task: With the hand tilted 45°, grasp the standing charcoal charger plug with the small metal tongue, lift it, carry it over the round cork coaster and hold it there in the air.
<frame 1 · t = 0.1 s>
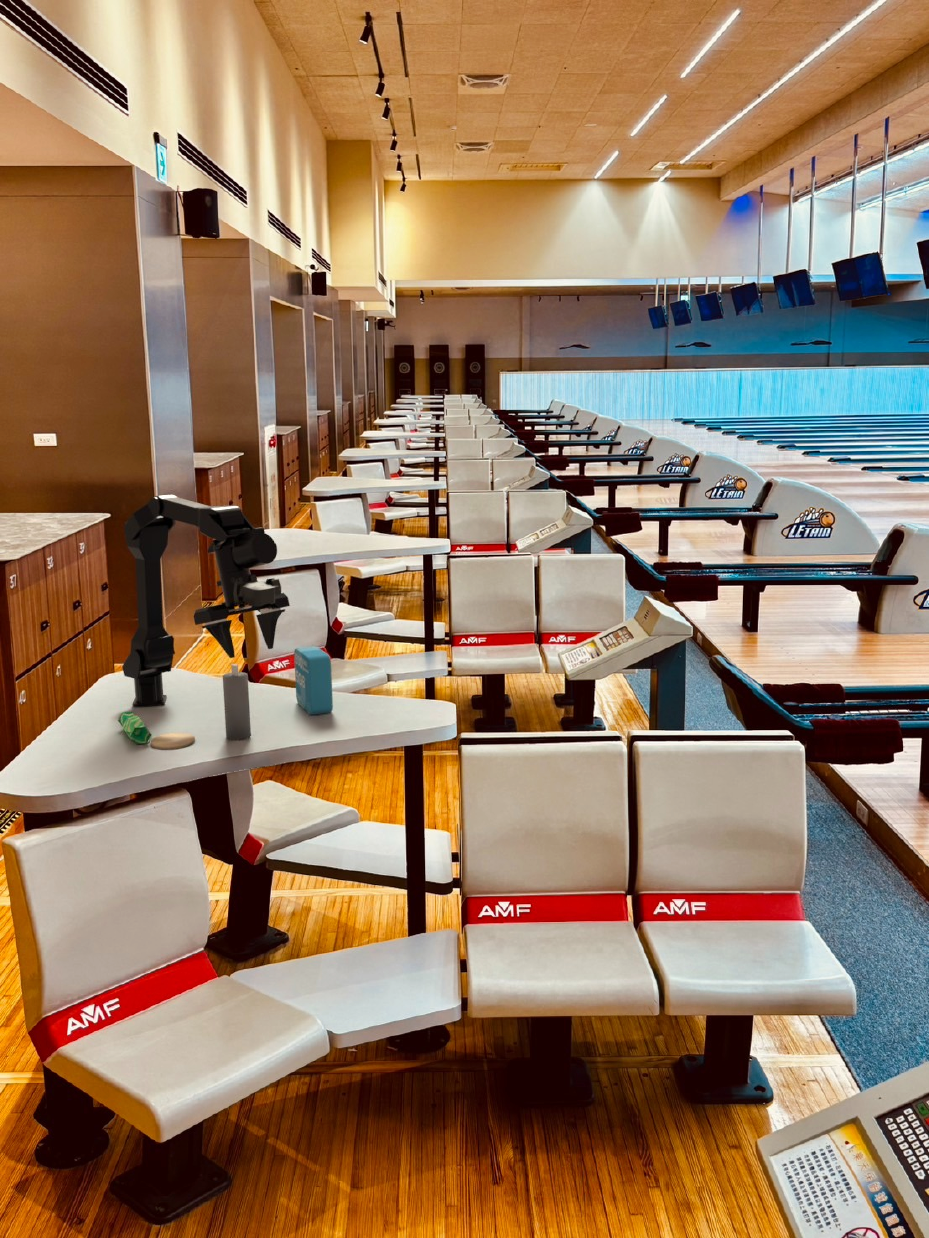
hand: (251, 653, 214), 15 cm above the table, tool pointing down, fingers open, 9 cm apart
cork coaster: (173, 742, 211), on the table
candy: (135, 737, 215), on the table, touching cork coaster
charcoal plug: (238, 736, 214), on the table
data package: (314, 709, 233), on the table
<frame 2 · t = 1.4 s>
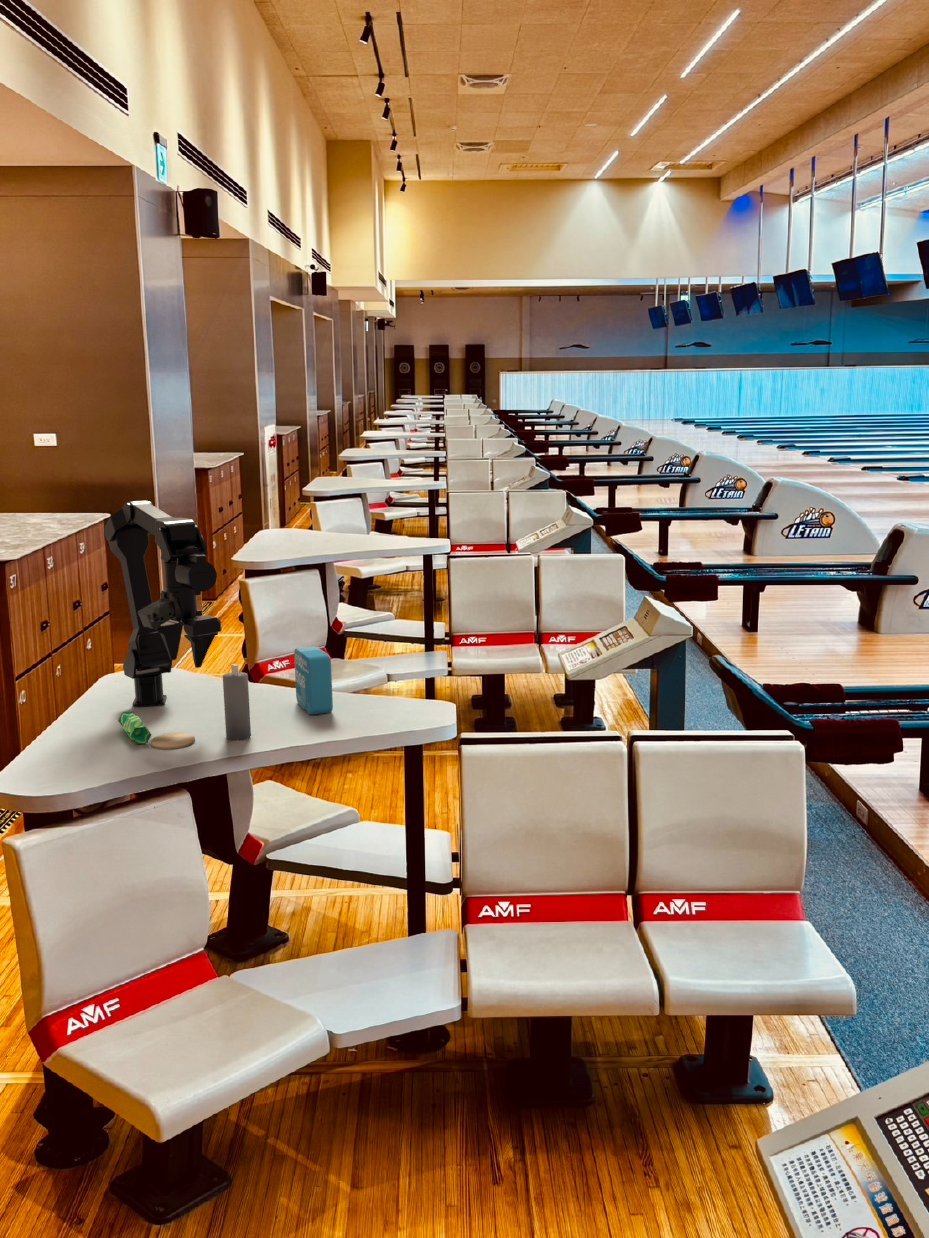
hand: (185, 663, 222), 12 cm above the table, tool pointing down, fingers open, 9 cm apart
nothing on the table moved.
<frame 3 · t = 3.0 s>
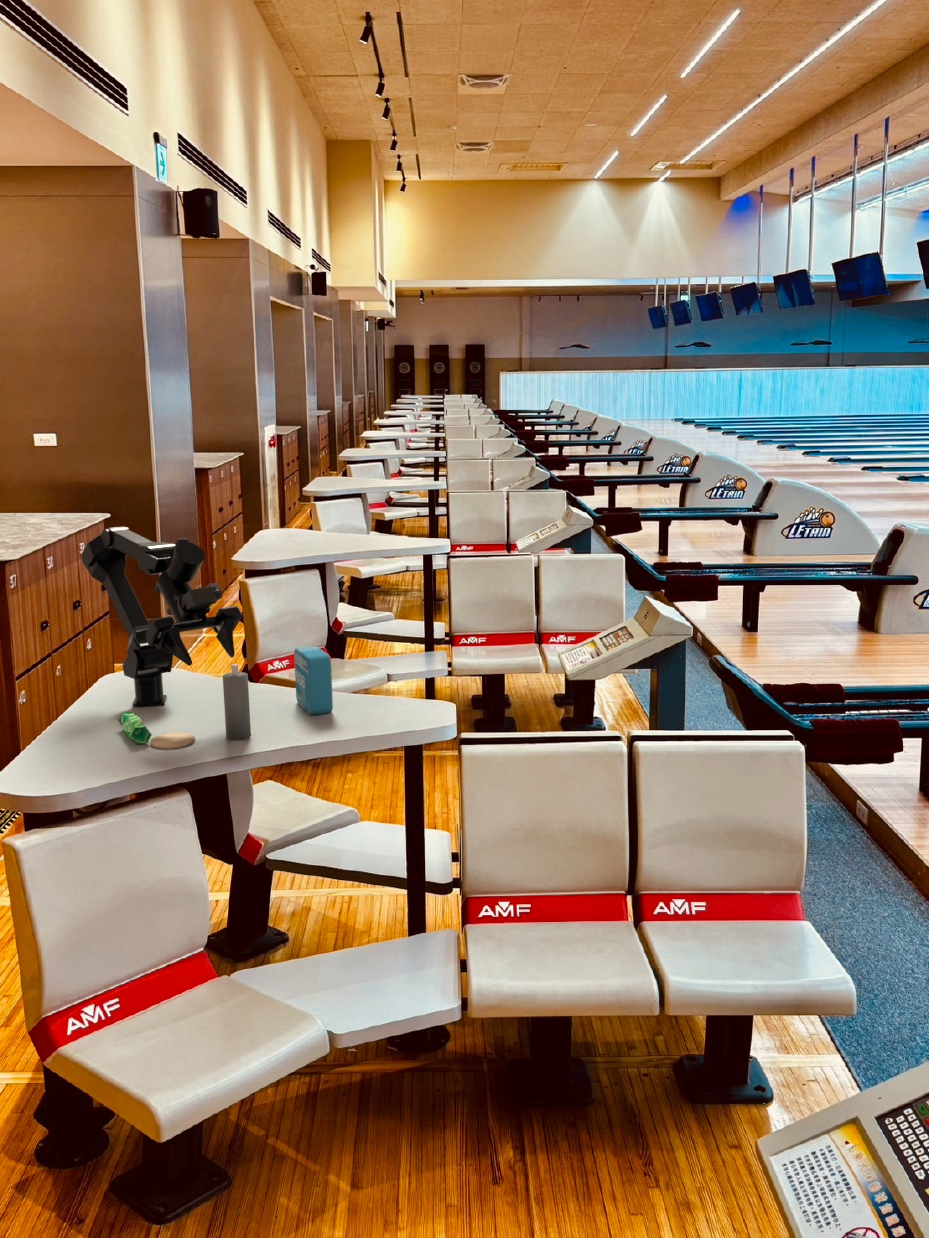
hand: (212, 660, 217), 13 cm above the table, tool tilted 45°, fingers open, 9 cm apart
nothing on the table moved.
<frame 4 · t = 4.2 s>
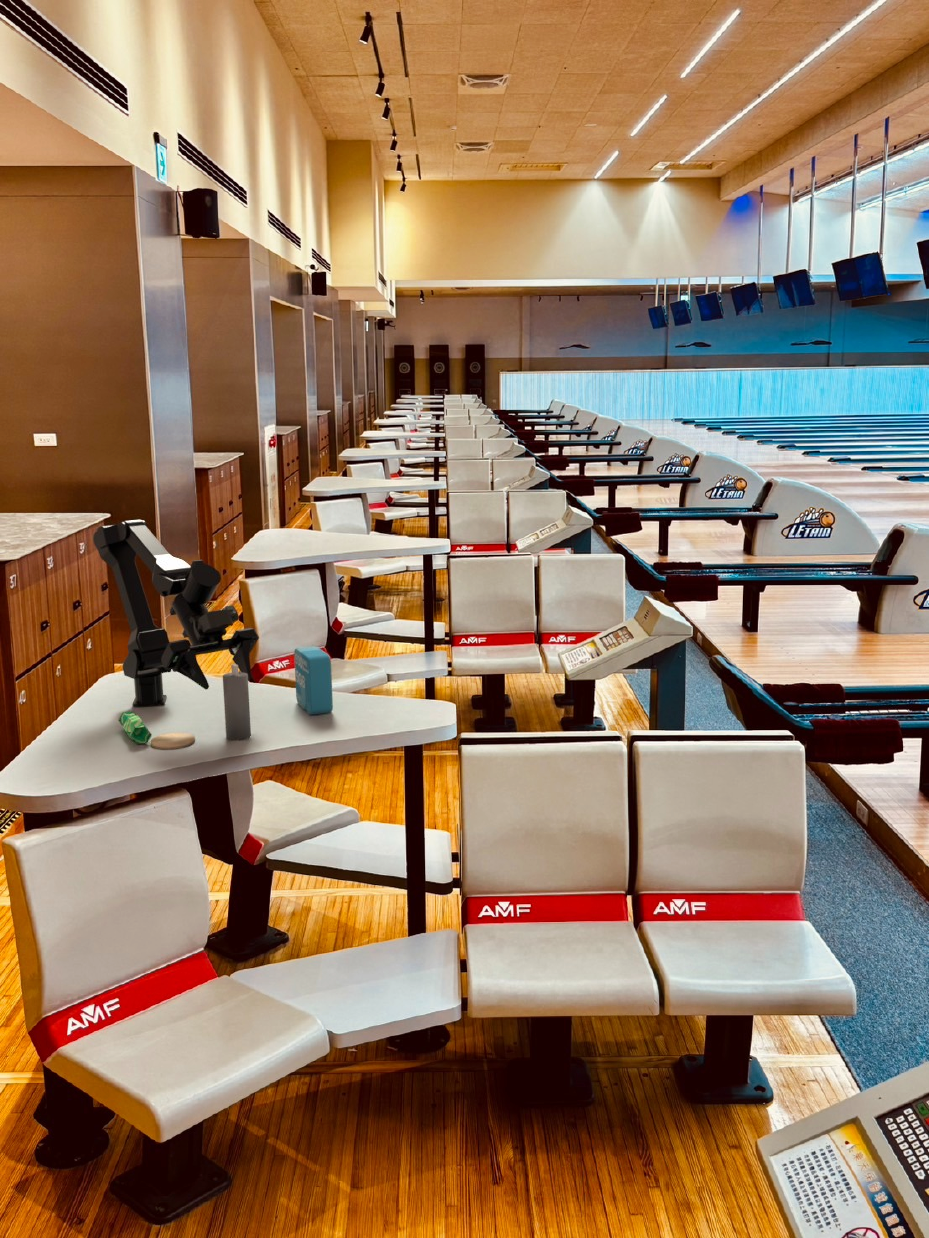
hand: (229, 683, 214), 10 cm above the table, tool tilted 45°, fingers open, 9 cm apart
nothing on the table moved.
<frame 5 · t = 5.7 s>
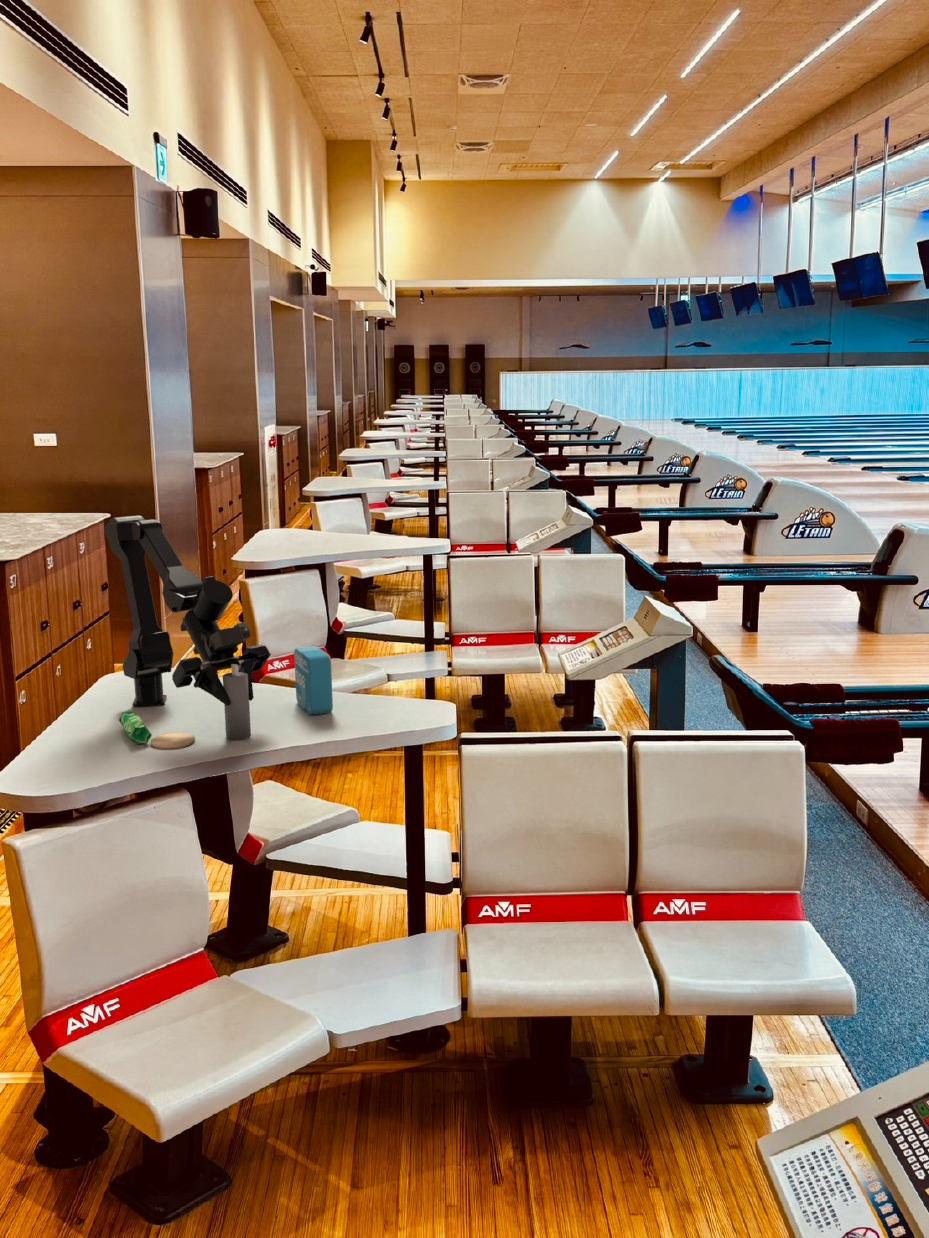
hand: (240, 701, 212), 7 cm above the table, tool tilted 45°, fingers closed on charcoal plug, 5 cm apart
charcoal plug: (238, 736, 214), on the table, touching gripper
everything else where it was.
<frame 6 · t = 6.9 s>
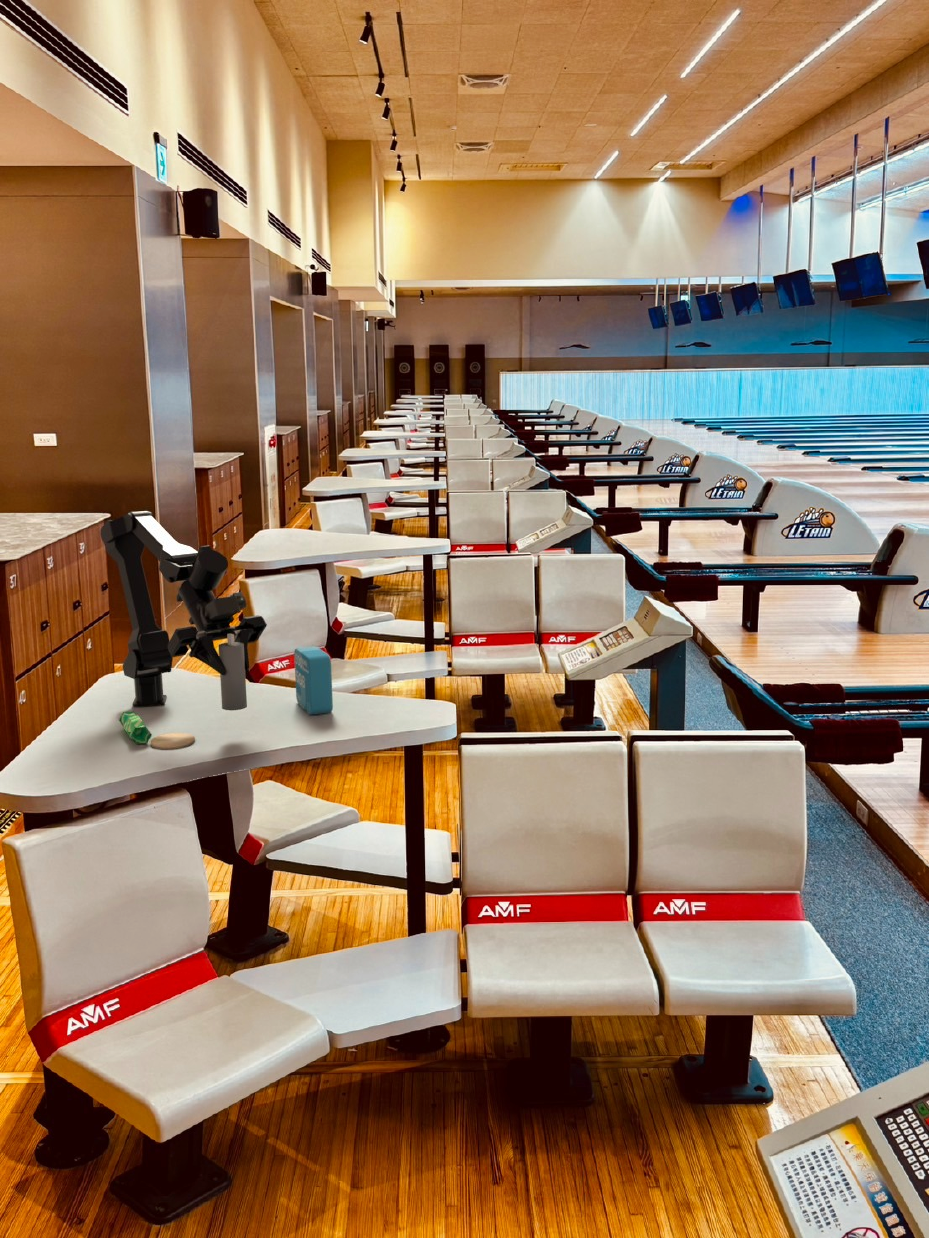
hand: (236, 671, 211), 13 cm above the table, tool tilted 45°, fingers closed on charcoal plug, 5 cm apart
charcoal plug: (234, 707, 213), point 6 cm above the table, touching gripper
everything else where it was.
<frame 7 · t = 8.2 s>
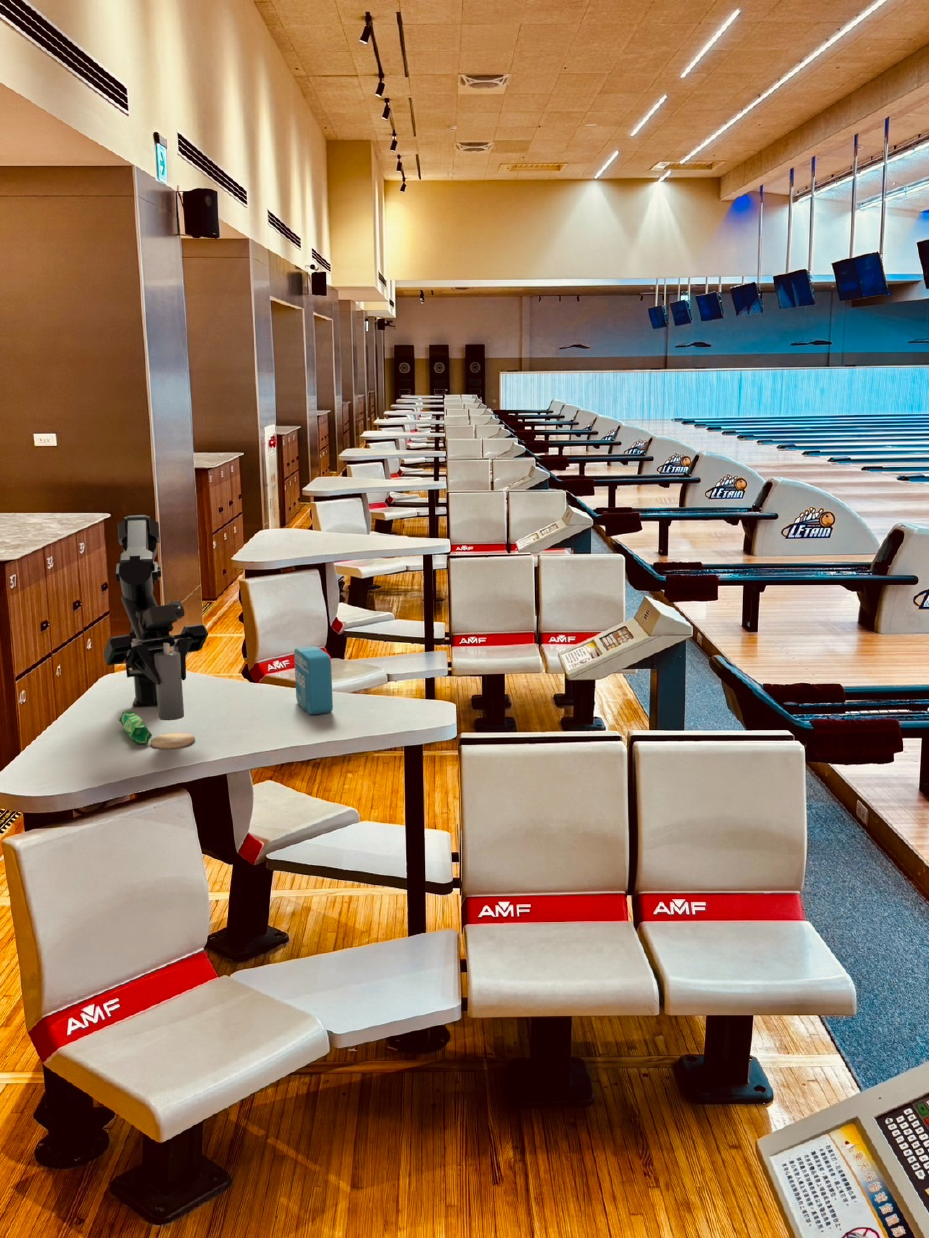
hand: (171, 681, 208), 12 cm above the table, tool tilted 45°, fingers closed on charcoal plug, 5 cm apart
charcoal plug: (171, 716, 210), point 5 cm above the table, touching gripper
everything else where it was.
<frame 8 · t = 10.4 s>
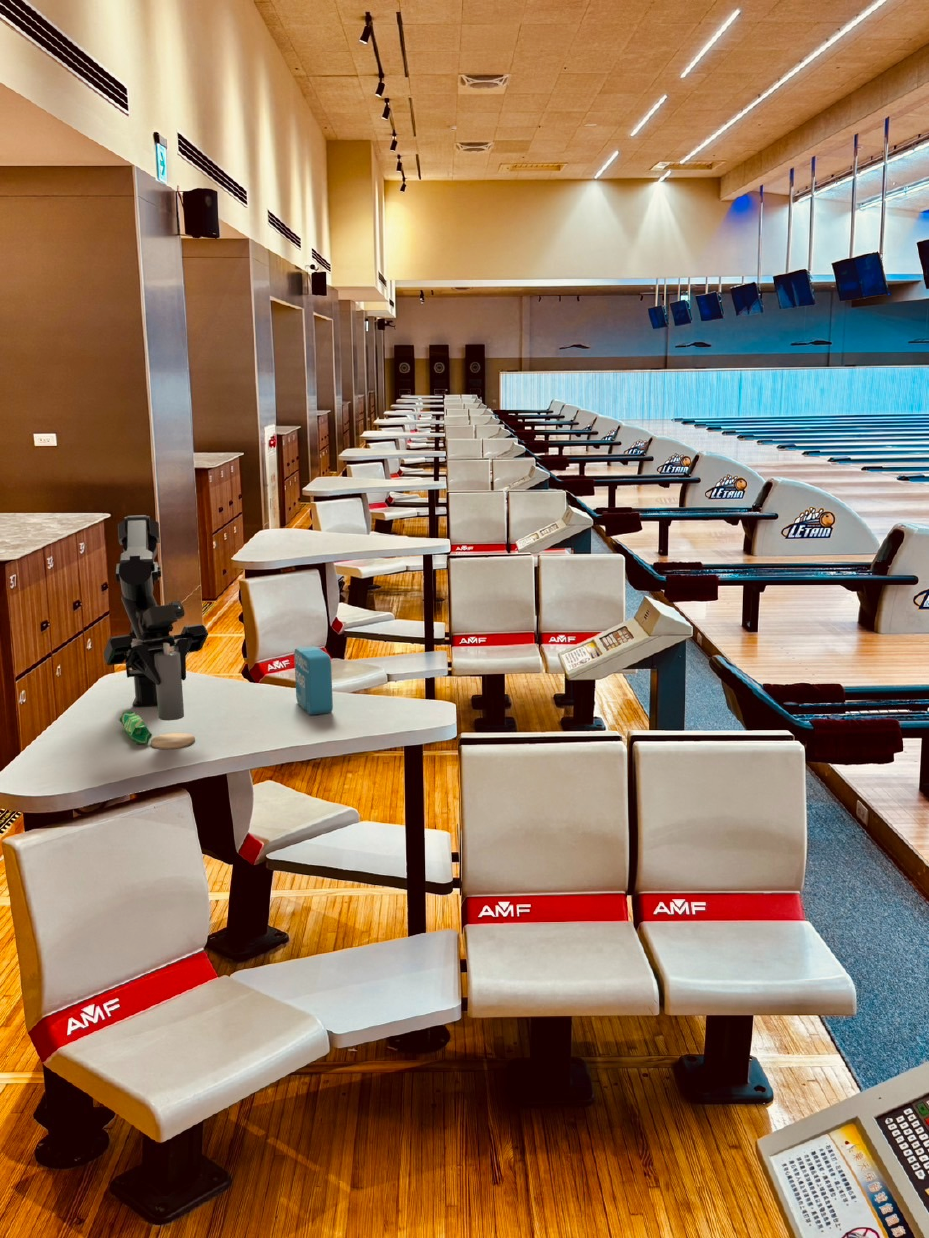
hand: (171, 681, 208), 12 cm above the table, tool tilted 45°, fingers closed on charcoal plug, 5 cm apart
charcoal plug: (171, 716, 210), point 5 cm above the table, touching gripper
everything else where it was.
at the end: the gripper is holding charcoal plug; charcoal plug point 4.9 cm above the table; charcoal plug 0.0 cm from the cork coaster (horizontally) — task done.
